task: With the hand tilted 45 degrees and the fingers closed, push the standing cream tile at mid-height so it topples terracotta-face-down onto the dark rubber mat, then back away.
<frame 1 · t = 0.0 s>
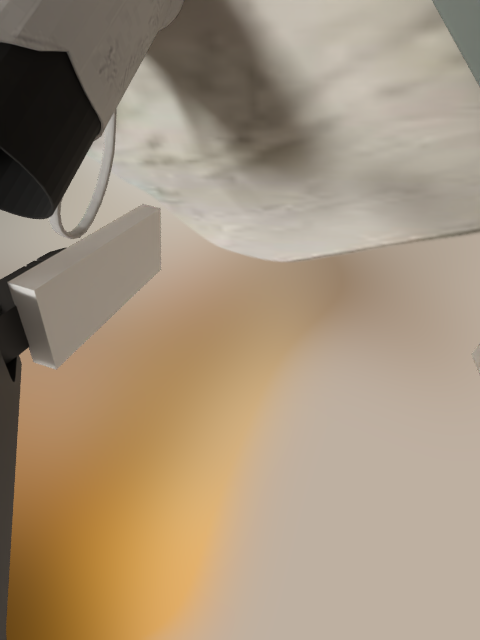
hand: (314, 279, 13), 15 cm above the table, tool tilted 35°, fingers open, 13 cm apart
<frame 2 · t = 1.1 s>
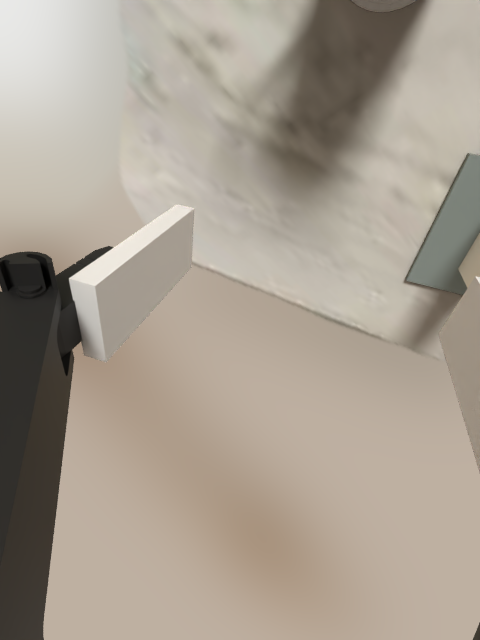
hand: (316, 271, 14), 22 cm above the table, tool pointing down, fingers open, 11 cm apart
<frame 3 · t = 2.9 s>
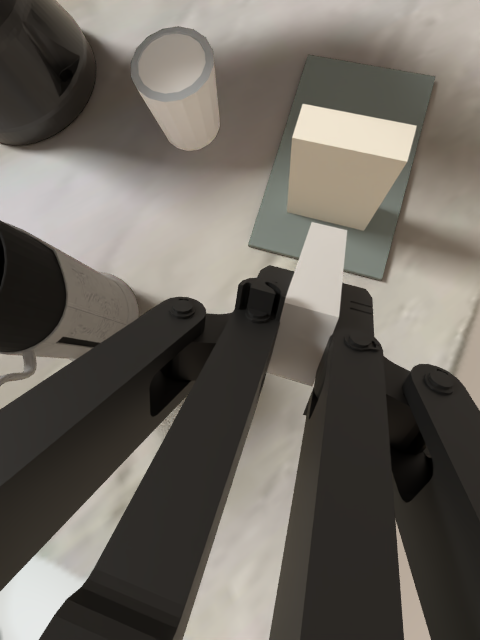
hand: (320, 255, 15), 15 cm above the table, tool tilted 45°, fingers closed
mat: (341, 162, 32), on the table
glass holder: (101, 345, 32), on the table
tile: (328, 209, 31), resting on mat
white cup: (192, 126, 34), on the table
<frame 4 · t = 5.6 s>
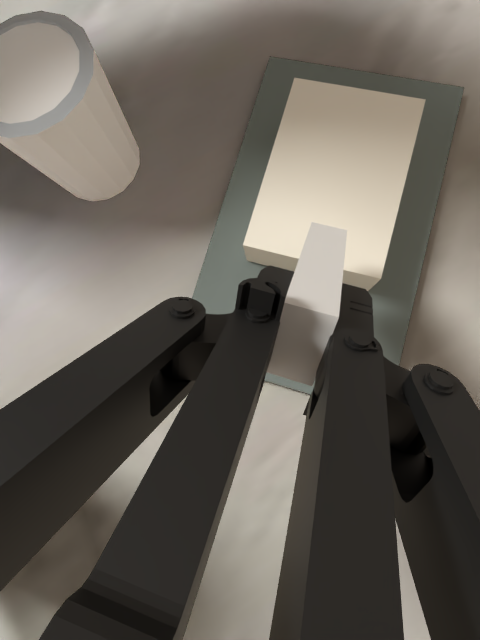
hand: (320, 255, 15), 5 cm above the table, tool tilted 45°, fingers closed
mat: (321, 221, 20), on the table
tile: (307, 268, 18), point 2 cm above the table, tilted 90°, touching mat
white cup: (101, 164, 23), on the table
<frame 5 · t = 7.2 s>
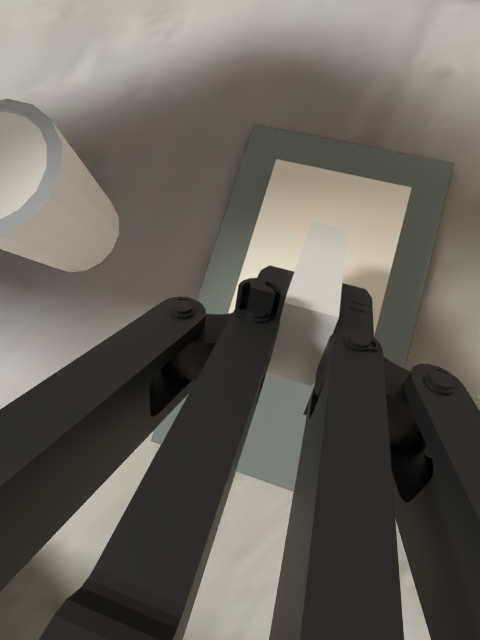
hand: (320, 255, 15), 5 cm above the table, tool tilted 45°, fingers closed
mat: (304, 301, 20), on the table
tile: (288, 361, 17), point 2 cm above the table, tilted 90°, touching mat
white cup: (79, 231, 22), on the table
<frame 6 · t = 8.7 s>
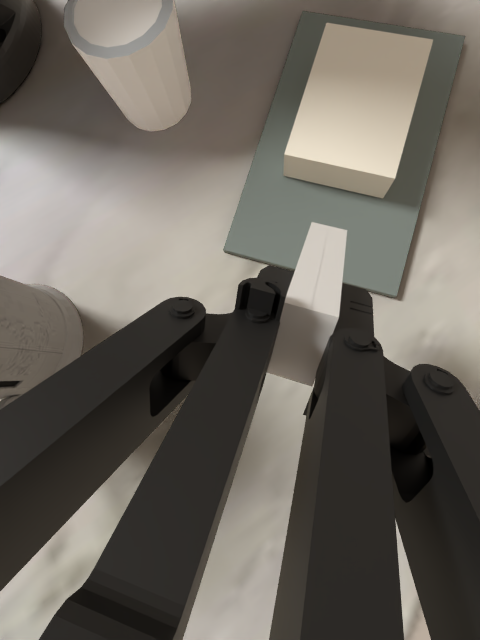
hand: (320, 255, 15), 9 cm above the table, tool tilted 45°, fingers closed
mat: (344, 146, 25), on the table
glass holder: (34, 378, 25), on the table
tile: (335, 177, 22), point 2 cm above the table, tilted 90°, touching mat
white cup: (157, 101, 27), on the table
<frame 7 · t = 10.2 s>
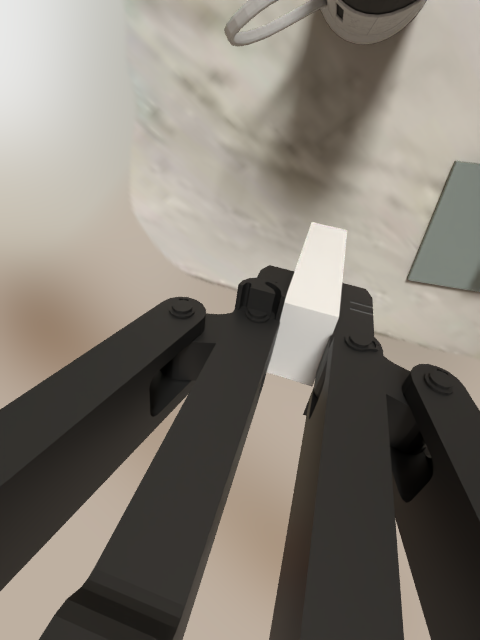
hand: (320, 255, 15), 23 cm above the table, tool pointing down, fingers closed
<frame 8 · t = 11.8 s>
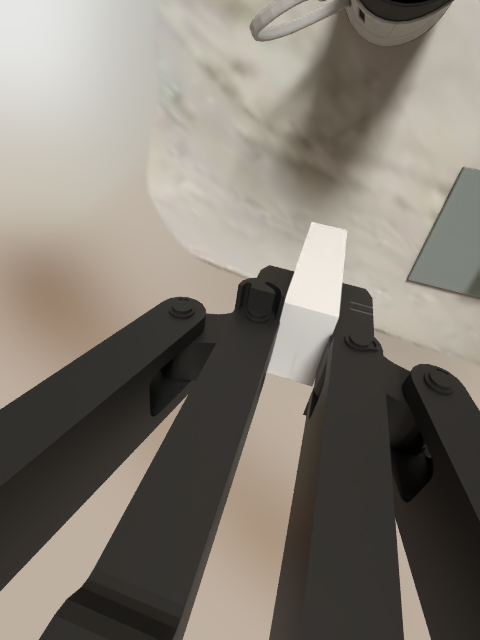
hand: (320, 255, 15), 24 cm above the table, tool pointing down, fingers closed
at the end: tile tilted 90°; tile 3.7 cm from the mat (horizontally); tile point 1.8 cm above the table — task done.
